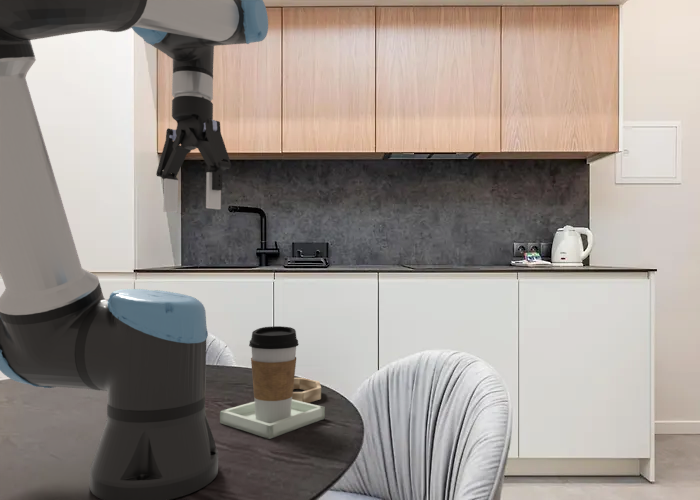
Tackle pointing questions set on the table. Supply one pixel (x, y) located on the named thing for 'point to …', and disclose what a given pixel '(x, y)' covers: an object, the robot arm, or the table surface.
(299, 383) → the holder ring
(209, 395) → the table surface
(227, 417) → the tray
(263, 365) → the coffee cup
